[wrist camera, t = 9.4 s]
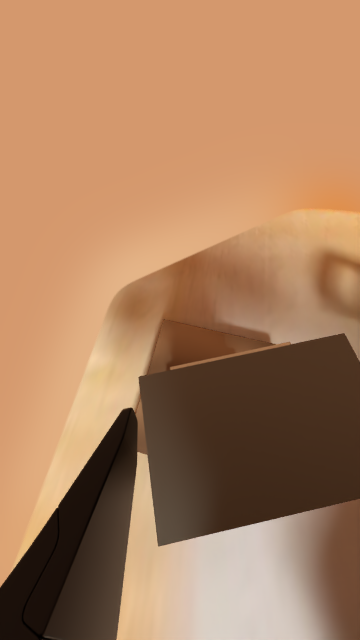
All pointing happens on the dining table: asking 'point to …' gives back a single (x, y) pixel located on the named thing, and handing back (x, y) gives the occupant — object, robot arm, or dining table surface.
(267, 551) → the dining table surface
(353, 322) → the dining table surface
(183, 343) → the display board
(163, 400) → the picture frame
